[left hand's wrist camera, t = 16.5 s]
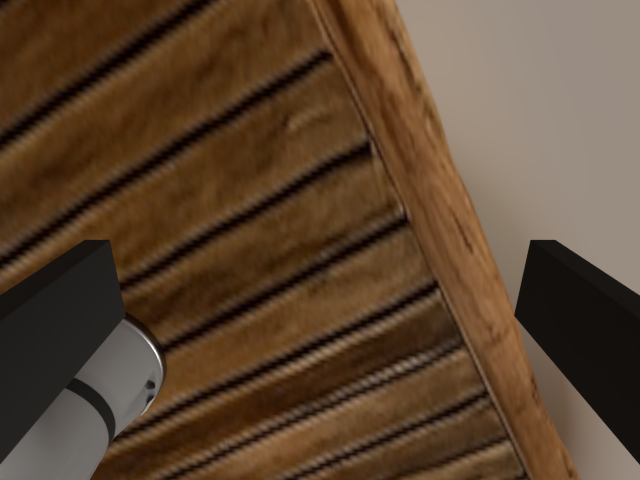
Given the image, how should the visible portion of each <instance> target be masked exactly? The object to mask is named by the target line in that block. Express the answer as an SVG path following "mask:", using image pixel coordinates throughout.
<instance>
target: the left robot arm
mask: <svg viewBox="0 0 640 480" xmlns="http://www.w3.org/2000/svg"><path fill="white" fill-rule="evenodd" d="M514 316H515V317H516V318H517V320H518V321H519V322H520V323H521V324H522V326H523V327H524V328H525V329H526V330H527V332H528V333H529V334H530V335H531V336H532V337H533V339H534V340H535V341H536V342H537V343H538V345H539V346H540V347H541V348H542V349H543V351H544V352H545V353H546V354H547V355H548V356H549V358H550V359H551V360H552V361H553V362H554V364H555V365H556V366H557V367H558V368H559V369H560V371H561V372H562V373H563V374H564V375H565V377H566V378H567V379H568V380H569V381H570V383H571V384H572V385H573V386H574V387H575V388H576V390H577V391H578V392H579V393H580V394H581V396H582V397H583V398H584V399H585V400H586V401H587V403H588V404H589V405H590V406H591V407H592V409H593V410H594V411H595V412H596V413H597V415H598V416H599V417H600V418H601V419H602V420H603V422H604V423H605V424H606V425H607V426H608V428H609V429H610V430H611V431H612V432H613V434H614V435H615V436H616V437H617V438H618V439H619V441H620V442H621V443H622V444H623V445H624V446H625V448H626V449H627V450H628V451H629V453H630V454H631V455H632V456H633V457H634V458H635V460H636V461H637V462H638V463H639V464H640V295H638V294H637V293H635V292H634V291H632V290H631V289H629V288H627V287H626V286H625V285H623V284H621V283H620V282H618V281H617V280H615V279H614V278H612V277H611V276H609V275H608V274H606V273H605V272H603V271H602V270H600V269H599V268H597V267H596V266H594V265H593V264H591V263H590V262H588V261H586V260H585V259H583V258H582V257H580V256H579V255H577V254H576V253H574V252H573V251H571V250H570V249H568V248H567V247H565V246H564V245H562V244H561V243H559V242H558V241H556V240H531V241H530V245H529V250H528V254H527V259H526V264H525V268H524V273H523V277H522V282H521V287H520V291H519V296H518V300H517V305H516V310H515V314H514ZM166 370H167V366H166V359H165V355H164V352H163V350H162V347H161V345H160V344H159V342H158V340H157V339H156V338H155V336H154V335H153V334H152V333H151V332H150V331H149V330H148V329H147V328H146V327H145V326H144V325H143V324H142V323H140V322H139V321H138V320H136V319H135V318H133V317H131V316H130V315H128V314H126V313H125V310H124V305H123V300H122V296H121V291H120V287H119V282H118V277H117V273H116V268H115V264H114V259H113V254H112V250H111V245H110V241H109V240H84V241H82V242H81V243H79V244H78V245H76V246H75V247H73V248H72V249H70V250H69V251H67V252H66V253H64V254H63V255H61V256H60V257H58V258H57V259H55V260H54V261H52V262H50V263H49V264H47V265H46V266H44V267H43V268H41V269H40V270H38V271H37V272H35V273H34V274H32V275H31V276H29V277H28V278H26V279H25V280H23V281H22V282H20V283H19V284H17V285H15V286H14V287H12V288H11V289H9V290H8V291H6V292H5V293H3V294H2V295H0V480H90V478H91V476H92V475H93V473H94V471H95V469H96V468H97V466H98V464H99V462H100V461H101V459H102V457H103V456H104V454H105V452H106V450H107V449H108V447H109V445H110V443H111V442H112V440H113V439H114V437H115V436H116V435H117V434H119V433H120V432H121V431H122V430H123V429H124V428H125V427H126V426H128V425H129V424H130V423H131V422H132V421H133V420H134V419H135V418H137V417H138V416H139V415H140V414H141V413H142V412H143V413H144V412H146V411H147V409H148V407H149V406H150V404H151V403H152V402H153V400H154V399H155V398H156V396H157V395H158V393H159V391H160V389H161V387H162V385H163V383H164V381H165V377H166ZM143 413H142V414H143ZM142 414H141V415H142Z"/></svg>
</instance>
